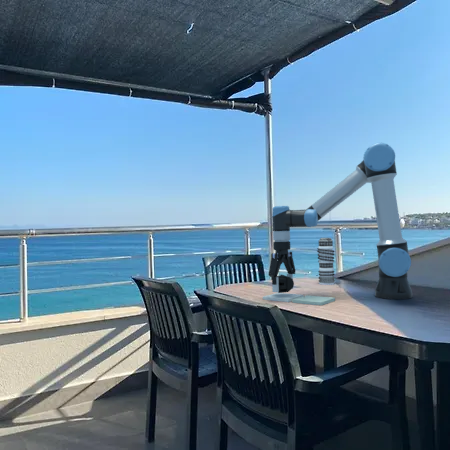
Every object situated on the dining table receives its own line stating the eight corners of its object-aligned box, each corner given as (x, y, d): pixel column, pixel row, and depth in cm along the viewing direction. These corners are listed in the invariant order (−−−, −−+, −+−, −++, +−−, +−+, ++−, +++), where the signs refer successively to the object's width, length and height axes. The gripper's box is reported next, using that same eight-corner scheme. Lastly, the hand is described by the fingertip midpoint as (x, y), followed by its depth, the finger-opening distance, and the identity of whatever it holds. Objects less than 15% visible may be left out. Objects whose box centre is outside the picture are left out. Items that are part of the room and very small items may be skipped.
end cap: (294, 292, 182) (293, 276, 182) (278, 293, 181) (277, 277, 181) (287, 289, 192) (286, 274, 192) (272, 289, 191) (271, 274, 191)
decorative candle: (314, 283, 233) (313, 237, 233) (329, 282, 236) (328, 237, 236) (323, 285, 224) (322, 238, 224) (338, 284, 227) (337, 237, 227)
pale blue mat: (278, 295, 195) (278, 292, 195) (303, 297, 187) (303, 294, 187) (262, 299, 185) (262, 296, 185) (288, 302, 177) (288, 299, 177)
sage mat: (307, 297, 186) (307, 295, 186) (335, 300, 178) (335, 297, 178) (292, 302, 176) (292, 299, 176) (321, 305, 168) (321, 302, 168)
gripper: (288, 239, 198) (289, 286, 198) (259, 242, 180) (260, 293, 179) (302, 239, 193) (303, 287, 193) (274, 242, 175) (275, 294, 175)
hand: (283, 290), depth 186 cm, fingers closed on end cap, 11 cm apart
